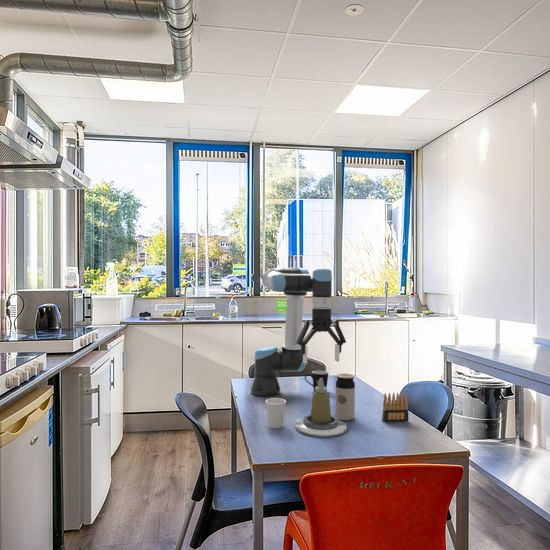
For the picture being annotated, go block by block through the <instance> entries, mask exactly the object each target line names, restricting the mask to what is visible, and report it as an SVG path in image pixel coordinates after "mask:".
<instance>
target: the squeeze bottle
mask: <svg viewBox="0 0 550 550" xmlns="http://www.w3.org/2000/svg"><path fill="white" fill-rule="evenodd" d="M330 401H331V400H330V394H329V392H328V386H327V387H324V383H323V378H320V379H319V383H318V386H317V387H315V392H314V391H313V393H312V398H311V408H310V414H311V418H312V421H313V423H318V424H328V423H329V420H330V417H331V416H332V413H331V402H330Z"/></svg>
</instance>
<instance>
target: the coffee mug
mask: <svg viewBox="0 0 550 550" xmlns="http://www.w3.org/2000/svg"><path fill="white" fill-rule="evenodd" d="M308 376H310V377H311V379H312V383H311V382H309V380H307V377H308ZM320 378H323V383H324V387H327V388H328V381H329V380H328V379H329V371H327V370H313V371H311V373H310V374H308V373H307V374H305V375H304V380H305V382H307V383H308V384H309V385H311V386H312V387H313V393H314V392H315V387H317V386H318V383H319V379H320Z"/></svg>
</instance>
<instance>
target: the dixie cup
mask: <svg viewBox="0 0 550 550" xmlns="http://www.w3.org/2000/svg"><path fill="white" fill-rule="evenodd" d="M286 403H287V400H286V399H284V398H282V397H281V398H280V397H270V398H266V400H265V408H266V415H267V423H268V424H267V425H268V427H269V428H270V427H271V428H270V429H281V428H283V426H284V419H285V411H286Z"/></svg>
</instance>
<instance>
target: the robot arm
mask: <svg viewBox="0 0 550 550" xmlns="http://www.w3.org/2000/svg"><path fill="white" fill-rule="evenodd" d="M332 274H333V272H332V270H331V269H330V268H314V269H312V273H310V271H309V270H308V269H307V268H304V267H299V266H298V267H281V266H280V267H272V268H270V269H267V270H266V271H265V272H264V273H263V275H262V279H261V280H262V284H263V285H264V287H266V288H267V289H269V290H271V291H272V292H276V293H283V295H284V296H285V298H286V303H285V304H286V307H285V308H286V309H285V329H284V342H283V343H282V344H281V348H278V346H276V345H268V346H267V345H266V346H261V347H258V348H257V349H255V351H254V378H253V380H252V381H253V382H252V385H251V387H250V393H251V394H252V395H254V396H257V395H259V396H258V397H274V396H278V395H280V394H281V385H280V383H279V380H278V372H279V373H286V372H288V373H289V372H291V373H292V372H293V373H294V372H295V373H296V372H302V371H303V370H305V369H306V366H307V364H308V346H307V344H308V343H309V342H310V340H311V339H312V338H313V337H314V335H315V334H317V332H318V333H321V332H324V333H326V332H327V333H328V335H330V336H331V338H332V339H333V341H334V342H335V344H334V361H335V362H337V363H338V362H339V363H340V354H341V353H342V346H343V344H346V343H347V340H346V338H345V336H344V334H343V331H342V329H341V327H340V321H339V320H338V319H332V308H331V307H332V291H333V290H332V289H333V288H332V286H333V284H332V282H333V281H332V280H333V276H332ZM308 293H312V294H311V295H312V296H311V297H312V299H311V307H312V309H311V310H312V311H311V312H312V313H311V320H308V319H307V320H306V319H305V320H304V323H303V315H304V314H303V313H304V298H305V297H306V296H307V294H308ZM311 326H312V327H311ZM331 326H333V327H334V329H335V332H336V333H335V332H334V330H333V329H332V328H331ZM310 327H311V328H310ZM309 328H310V331H309V332H308V330H309ZM307 332H308V333H307ZM306 334H307V335H306ZM336 334H337V335H336Z"/></svg>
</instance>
